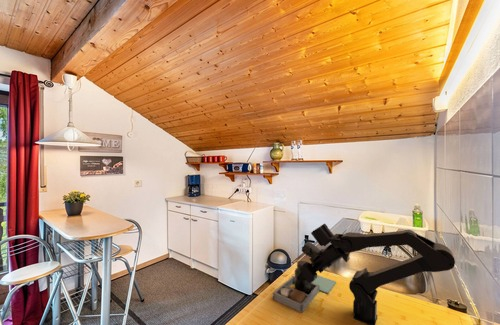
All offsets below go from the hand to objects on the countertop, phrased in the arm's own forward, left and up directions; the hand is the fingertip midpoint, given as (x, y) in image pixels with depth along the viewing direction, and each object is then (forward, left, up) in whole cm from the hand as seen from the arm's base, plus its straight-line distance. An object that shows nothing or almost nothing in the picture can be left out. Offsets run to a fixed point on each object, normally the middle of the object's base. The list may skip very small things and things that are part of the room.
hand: (301, 275), depth 91 cm
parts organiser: (0, +3, -7) cm, 7 cm away
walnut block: (-2, +8, -7) cm, 11 cm away
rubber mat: (-4, -11, -7) cm, 13 cm away
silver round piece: (+3, +8, -7) cm, 11 cm away
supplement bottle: (-1, 0, -7) cm, 7 cm away
